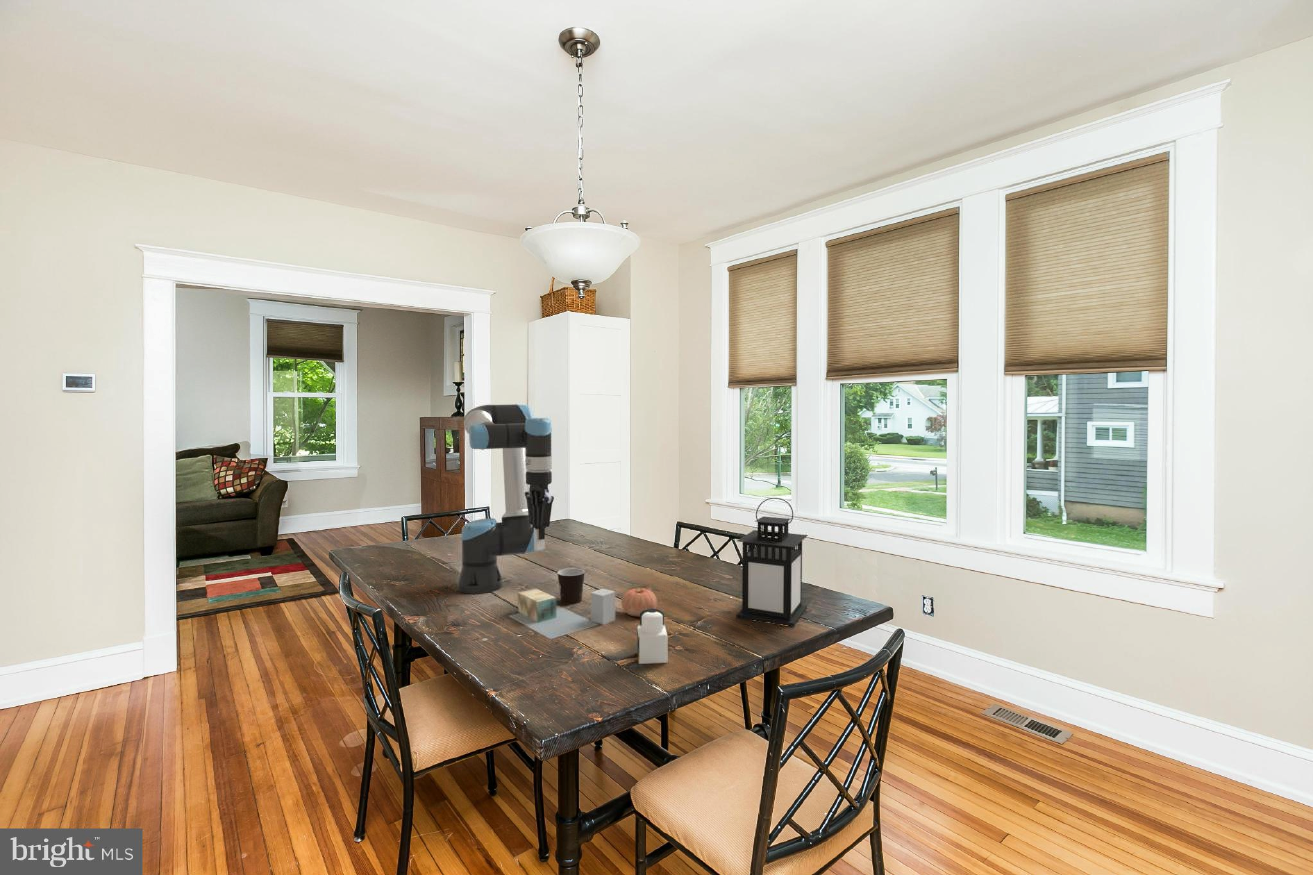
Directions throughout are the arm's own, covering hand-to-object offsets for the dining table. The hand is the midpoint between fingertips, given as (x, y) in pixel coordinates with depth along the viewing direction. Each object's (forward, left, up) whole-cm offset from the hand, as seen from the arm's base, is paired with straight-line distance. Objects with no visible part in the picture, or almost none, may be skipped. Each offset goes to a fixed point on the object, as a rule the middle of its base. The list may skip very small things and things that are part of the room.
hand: (539, 549), depth 181 cm
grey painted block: (+15, +12, -21) cm, 28 cm away
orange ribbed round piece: (+17, +24, -21) cm, 36 cm away
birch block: (+4, 0, -17) cm, 18 cm away
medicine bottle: (+44, +6, -21) cm, 49 cm away
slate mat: (+5, +1, -21) cm, 21 cm away
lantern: (+43, +55, -21) cm, 73 cm away
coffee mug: (-7, +16, -21) cm, 27 cm away
